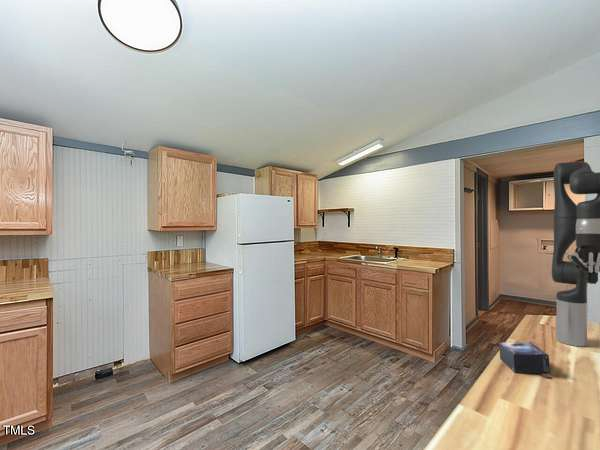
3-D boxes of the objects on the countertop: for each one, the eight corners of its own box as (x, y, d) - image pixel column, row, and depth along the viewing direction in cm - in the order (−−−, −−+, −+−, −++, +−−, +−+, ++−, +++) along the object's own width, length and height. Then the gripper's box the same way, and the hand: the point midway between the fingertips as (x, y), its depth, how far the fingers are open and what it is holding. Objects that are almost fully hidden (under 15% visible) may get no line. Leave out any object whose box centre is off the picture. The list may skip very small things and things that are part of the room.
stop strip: (522, 358, 106) (522, 356, 106) (527, 358, 105) (527, 357, 105) (545, 378, 92) (545, 376, 92) (551, 378, 92) (551, 376, 92)
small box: (549, 353, 93) (512, 353, 95) (551, 374, 93) (514, 373, 95) (530, 341, 104) (497, 341, 106) (532, 359, 103) (499, 359, 106)
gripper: (605, 231, 101) (606, 281, 101) (560, 231, 104) (561, 280, 104) (624, 232, 93) (624, 286, 93) (575, 232, 96) (575, 284, 96)
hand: (591, 283), depth 98 cm, fingers closed
